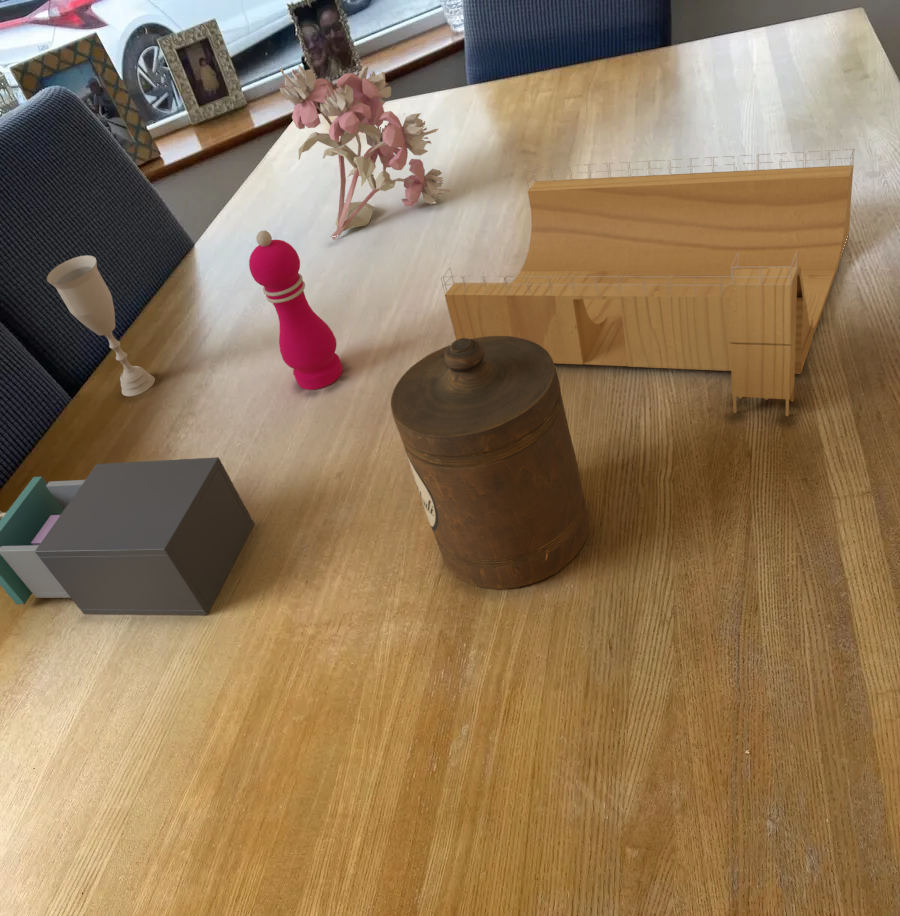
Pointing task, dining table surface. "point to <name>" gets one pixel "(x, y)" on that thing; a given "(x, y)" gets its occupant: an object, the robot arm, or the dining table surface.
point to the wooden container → (493, 459)
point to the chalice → (96, 312)
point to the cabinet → (148, 538)
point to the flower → (354, 115)
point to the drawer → (31, 539)
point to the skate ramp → (674, 272)
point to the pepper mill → (295, 314)
